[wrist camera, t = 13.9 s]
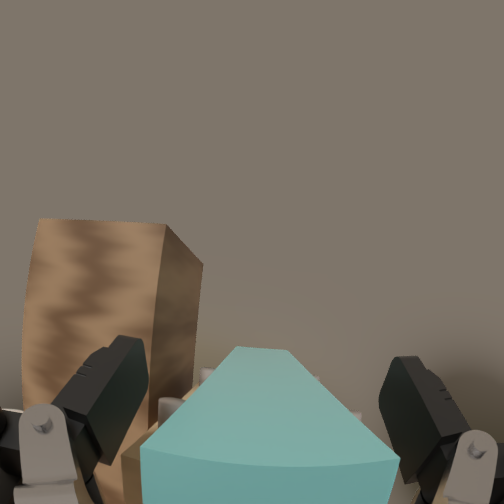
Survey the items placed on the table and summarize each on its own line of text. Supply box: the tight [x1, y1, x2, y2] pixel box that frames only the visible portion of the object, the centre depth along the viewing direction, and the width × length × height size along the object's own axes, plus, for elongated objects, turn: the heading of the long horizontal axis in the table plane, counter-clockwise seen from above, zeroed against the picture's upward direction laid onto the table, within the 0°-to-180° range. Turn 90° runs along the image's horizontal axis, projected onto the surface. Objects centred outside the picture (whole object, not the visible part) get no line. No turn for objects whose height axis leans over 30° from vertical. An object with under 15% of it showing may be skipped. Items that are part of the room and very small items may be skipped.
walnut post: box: [22, 219, 203, 504], centre depth 19 cm, size 10×12×32 cm
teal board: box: [140, 346, 400, 504], centre depth 13 cm, size 4×20×3 cm, turn 179°
